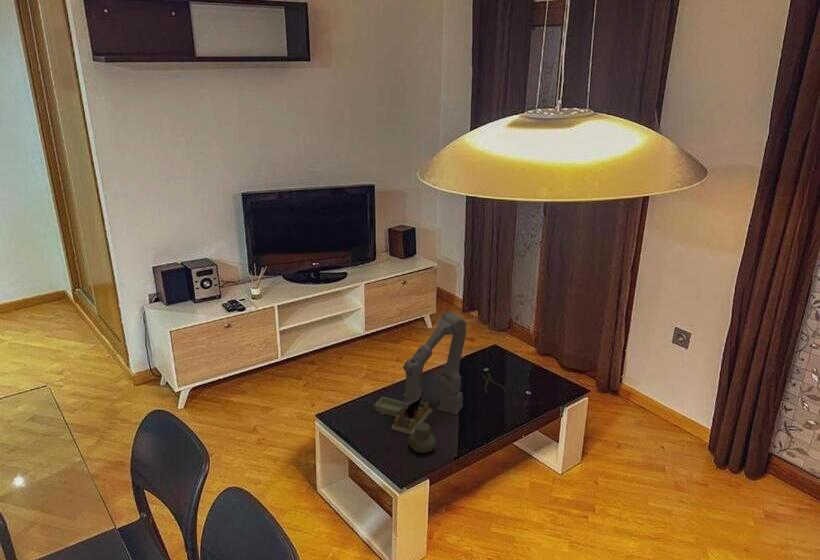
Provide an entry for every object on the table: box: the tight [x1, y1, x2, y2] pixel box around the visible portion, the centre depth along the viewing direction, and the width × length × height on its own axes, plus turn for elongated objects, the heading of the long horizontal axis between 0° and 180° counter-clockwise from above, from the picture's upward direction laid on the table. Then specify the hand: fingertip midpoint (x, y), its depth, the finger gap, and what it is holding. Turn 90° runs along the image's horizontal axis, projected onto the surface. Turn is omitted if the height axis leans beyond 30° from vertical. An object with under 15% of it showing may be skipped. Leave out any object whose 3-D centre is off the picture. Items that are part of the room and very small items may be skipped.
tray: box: [373, 395, 404, 418], centre depth 269 cm, size 12×8×3 cm, turn 64°
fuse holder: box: [391, 402, 433, 436], centre depth 262 cm, size 10×20×4 cm, turn 154°
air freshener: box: [408, 422, 437, 454], centre depth 242 cm, size 11×8×10 cm
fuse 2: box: [418, 400, 430, 409], centre depth 267 cm, size 8×3×3 cm, turn 64°
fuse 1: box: [395, 415, 415, 426], centre depth 255 cm, size 8×3×3 cm, turn 64°
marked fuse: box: [403, 408, 422, 418], centre depth 261 cm, size 8×3×3 cm, turn 64°
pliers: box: [480, 372, 507, 395], centre depth 292 cm, size 10×1×20 cm
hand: (412, 415), depth 261 cm, fingers closed on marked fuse, 2 cm apart
